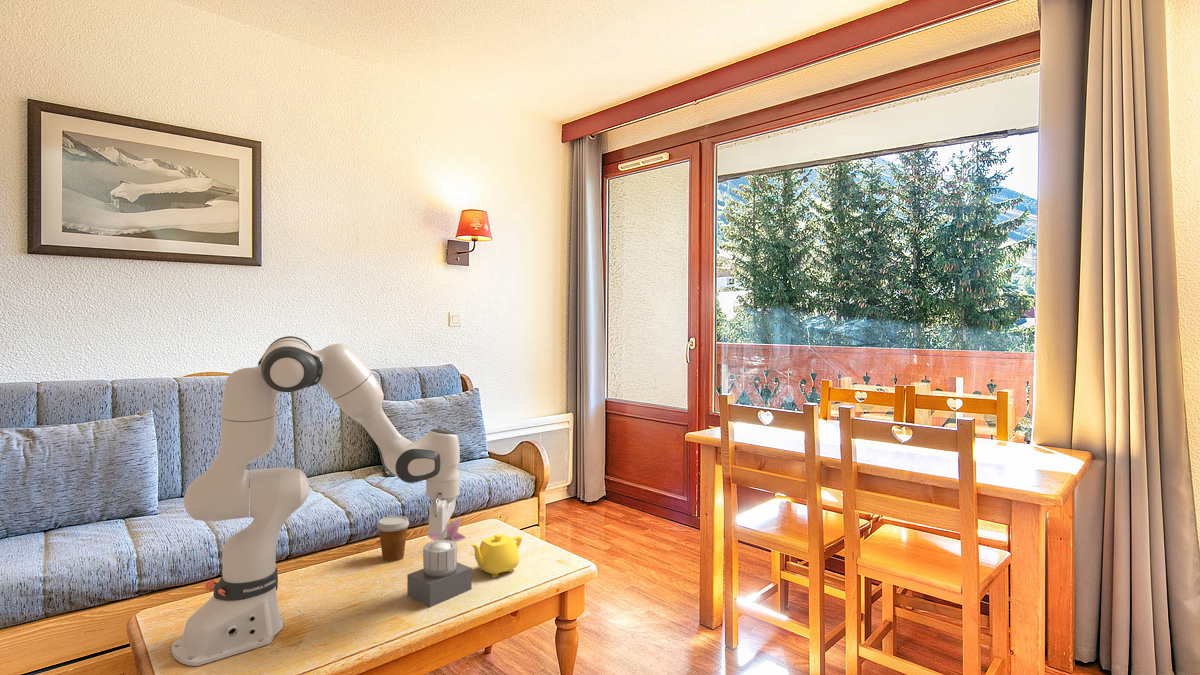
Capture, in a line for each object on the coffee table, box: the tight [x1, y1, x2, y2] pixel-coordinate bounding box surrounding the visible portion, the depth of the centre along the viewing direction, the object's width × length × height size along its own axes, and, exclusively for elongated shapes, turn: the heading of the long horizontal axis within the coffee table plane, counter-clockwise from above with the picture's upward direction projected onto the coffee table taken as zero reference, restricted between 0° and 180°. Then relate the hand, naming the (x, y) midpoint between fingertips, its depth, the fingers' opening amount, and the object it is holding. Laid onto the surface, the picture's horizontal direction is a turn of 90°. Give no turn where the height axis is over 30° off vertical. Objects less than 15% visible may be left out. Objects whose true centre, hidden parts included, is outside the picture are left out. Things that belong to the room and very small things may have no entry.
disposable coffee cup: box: [376, 515, 410, 563], centre depth 192 cm, size 10×10×12 cm
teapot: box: [469, 533, 523, 577], centre depth 184 cm, size 18×11×11 cm, turn 131°
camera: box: [406, 540, 473, 608], centre depth 169 cm, size 14×10×13 cm
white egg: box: [431, 542, 451, 551], centre depth 169 cm, size 5×5×5 cm
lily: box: [426, 517, 466, 543], centre depth 200 cm, size 12×12×10 cm
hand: (442, 538), depth 166 cm, fingers closed
